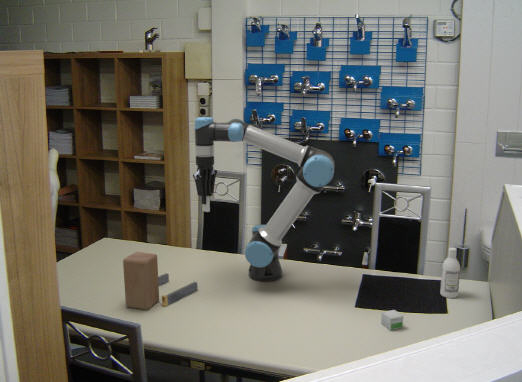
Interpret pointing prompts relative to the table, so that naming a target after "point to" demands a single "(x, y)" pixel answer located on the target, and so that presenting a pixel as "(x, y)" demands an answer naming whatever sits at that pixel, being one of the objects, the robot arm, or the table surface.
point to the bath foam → (450, 275)
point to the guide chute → (176, 294)
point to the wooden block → (141, 280)
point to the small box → (392, 320)
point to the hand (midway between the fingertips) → (206, 211)
